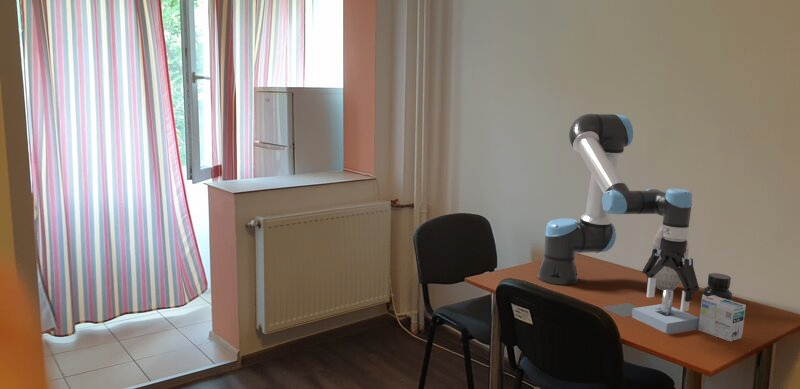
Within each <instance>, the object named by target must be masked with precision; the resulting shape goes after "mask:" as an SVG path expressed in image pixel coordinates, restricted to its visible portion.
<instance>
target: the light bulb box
mask: <svg viewBox="0 0 800 389" xmlns="http://www.w3.org/2000/svg"><path fill="white" fill-rule="evenodd" d="M746 308H747V305H746V304H744V303H740V302H737V301H734V300H732V301H731V300H727V299H724V298H720V297H717V296H715V295H712V296H708V297H703V298H702V297H701V303H700V310H699V311H700V312H699V317H698V318H699V326H698V329H697V330H698V332H699V331H700V332H702V333H705V334H708V335H710V336H714V337H716V338H718V337H719V338H718V339H722V340H724V341H727V342H729V341H730V342H733V340H734V341H736V340H740V339H742V338H743V331H744V324H745V316H746Z"/></svg>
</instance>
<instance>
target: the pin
mask: <svg viewBox="0 0 800 389" xmlns="http://www.w3.org/2000/svg"><path fill="white" fill-rule="evenodd" d="M673 299H674V291H672V290H669V289H664V290H662V298H661V304H662V306H661V314H662V315H664V316H671V309H672V307H673Z"/></svg>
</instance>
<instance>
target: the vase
mask: <svg viewBox="0 0 800 389" xmlns="http://www.w3.org/2000/svg"><path fill="white" fill-rule="evenodd" d="M662 227H663V224H662V225H661V226H660V227H659V229H658V230H657V232H656V234H655V236H654V239H653V240H652V241H653V242H652V245H651V252H650V256H651V255H652V251H653V249H657V248H660V244H661V238H662V237H663V236H662ZM688 240H689V239H686V241H687V247H686V252H685V253H684V257H685V258H687V259H689V241H688ZM660 259H661V256H660V257H659V258H658V260H657V262H658V261H659V260H660ZM657 262H656V264H657ZM656 264H655V265H656ZM655 265H654V266H655ZM679 268H680V267H679ZM653 277H656V286H655V288H656V289H658V290H660V291H663V290H664V289H669V290H672V291H673V292H674V291H675V290H676V289H677V288H678V286H680V284H681V283H682V282H681V280H680V278H679V276H678V274H677V272H676V271H675V270H674V269H672V268H670V267H666V266H664V267H663V268H662V269H661V270H660V271H659V272H658V273H657V274H656V275H655V276H653Z"/></svg>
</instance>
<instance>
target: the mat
mask: <svg viewBox="0 0 800 389" xmlns="http://www.w3.org/2000/svg"><path fill="white" fill-rule="evenodd" d="M601 308H602V309H604V310H606V311H608V312H611V313H613V314H615V315H617V316H619V317H621V318H626V317H632V311H633V308H638V307H637V306H635V305H633V304H632V303H629V302H626V303H618V304H612V305H606V306H605V305H604V306H601Z"/></svg>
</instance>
